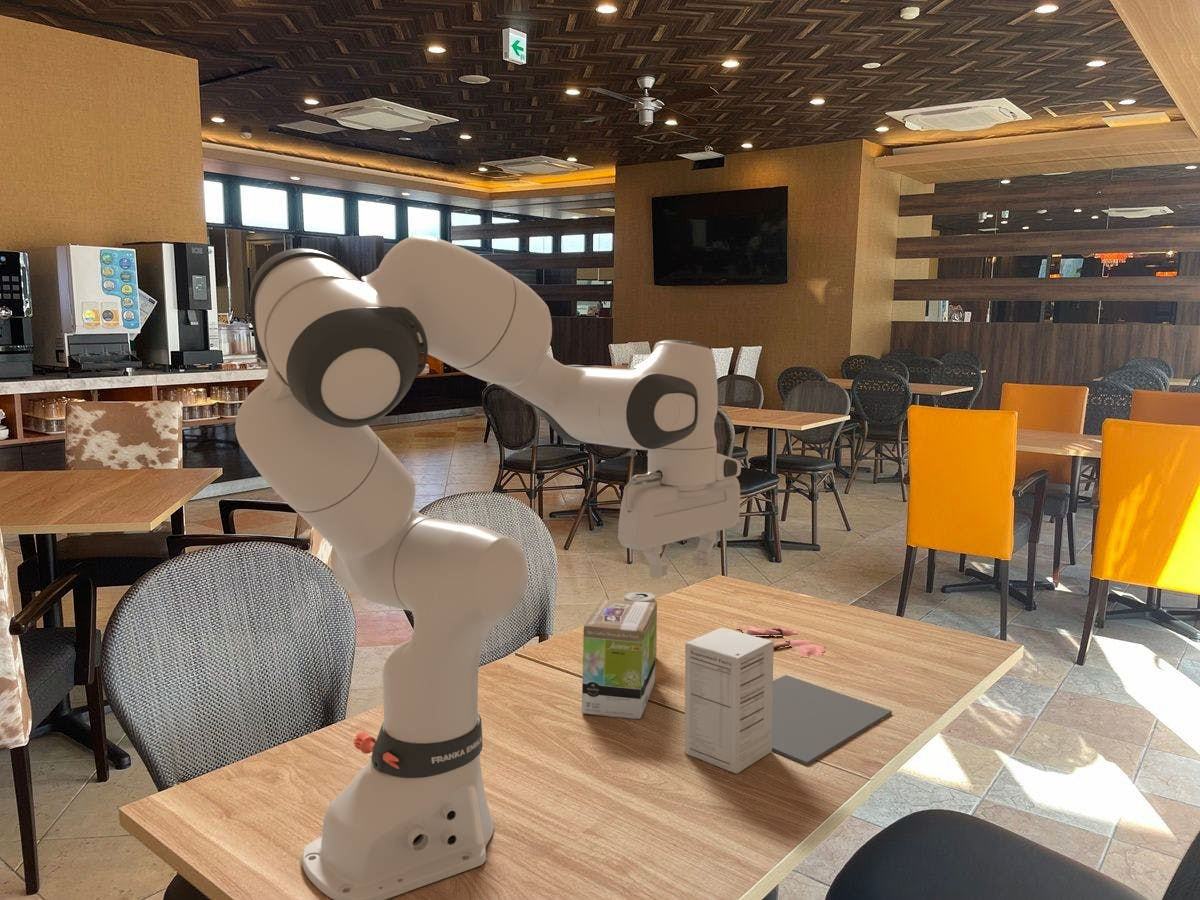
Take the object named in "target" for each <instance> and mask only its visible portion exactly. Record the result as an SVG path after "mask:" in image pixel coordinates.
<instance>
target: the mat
mask: <svg viewBox="0 0 1200 900" xmlns="http://www.w3.org/2000/svg"><path fill="white" fill-rule="evenodd" d="M892 714H893V711H892V710H891V709H888V708H886V707H882V706H879V705H876V704H873V703H870V702H867V701H864V700H861V699H858V698H856V697H852V696H849V695H847V694H844V693H840V692H837V691H834V690H831V689H829V688H825V687H822V686H820V685H817V684H813V683H811V682H808V681H805V680H802V679H800V678H796V677H794V676H791V675H787V674H785V675H783V676H781V677H779V678H776V679H773V707H772V752H773V753H776V754H777V755H780V756H783V757H786V758H787V759H790V760H792V761H794V762H795V761H796V762H798V763H799V764H802V765H804V766H809V765H810V764H812V763H813V762H815V761H816V760H819V759H820V758H821V757H823V756H825V755H826V754H828V753H830V752H831V751H833V750H835V749H837V748H838V747H840V746H842V745H843V744H845V743H846V742H847V741H848V742H849V740H851V739H853V738H854V737H856V736H858V735H859V734H861V733H863V732H865V731H866V730H868V729H869V728H872V726H874V725H876V724H878V723H879V722H881V721H882V720H884V719H886V718H887V717H889V716H891V715H892Z"/></svg>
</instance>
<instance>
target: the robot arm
mask: <svg viewBox="0 0 1200 900" xmlns="http://www.w3.org/2000/svg"><path fill="white" fill-rule="evenodd" d="M360 279H361V280H360ZM360 279H358V278H357V277H356V276H355V273H353V272H352V271H351V269H350V268H349V267H348V266H347V265H346V264H344V262H342V261H340V260H339V259H337V258H336V257H334V256H332V255H330V254H327V253H325V252H323V251H319V250H317V249H311V248H292V249H286V250H283V251H280V252H278V253H276V254H275V255H272V256H271V257H270V258H268V259H266V261H265V262H263V264H261V266H260V267H259V269H258V270H257V271H256V273H255V275H254V277H253V280H252V282H251V283H252V284H251V287H250V290H249V291H250V292H249V313H250V321H251V327H252V331H253V337H254V345H255V350H256V355H257V357H258V358H259V359H260V360H261V361H263V362H264V363H265V364H267V375H266V377H265V379H264V381H263V382H261V383H260V384H259V385H258V386H257V387H256V388H255V389H253V390H252V391H251V392H250V393H249V394H248V396H246V398H245V399H244V400H243V401H242V403H241V405H240V407H239V409H238V412H237V414H236V417H235V418H236V419H235V423H234V424H235V425H234V428H235V435H236V440H237V441H238V442H237V443H238V444H239V446H240V447H241V449H242V450H243V452H244V454H245V455H246V457H247V458H248V460H249V461H250V462H251V464H252V465H253V466H254V469H256V470H257V472H258V474H260V476H261V477H262V478H263V479H264V480H265V481H266V483H267V484H268V485H269V487H270V488H272V490H273V491H275V493H276V494H277V495H278V496H279V497H280V498H281V499H282V500H283V501H284V502H285V503H286V504H287V505H288V506H289V507H290V508H291V509H293V510H294V511H295V512H296V513H297V514H298V515H299V516H300V517H301V518H302V519H303V520H305V521H306V522H307V523H308V524H309V525H310V526H311V527H312V528H313V529H314V530H315V531H316V532H317V533H318V534H319V535H320V536H321V537H322V538H324V539H325V540H326V541H327V542H328V544H329V545H330V546H331V554H330V563H331V570H332V573H333V576H334V578H335V579H336V582H337V583H338V584H339V585H340V586H341V587H343V588H344V589H346V590H347V591H349V592H351V593H353V594H355V596H358V597H360V598H362V599H365V600H366V601H368V602H371V603H373V604H377V605H382V606H386V607H391V608H396V609H400V610H405V611H409V612H412V616H413V623H414V624H413V632H412V636H411V639H409V640H406V641H405V642H403V643H402V644H400V645H398V646H397V647H396V648H395V649H394V650H393V651H392V652H391V653H390V654H389V656H388V657H387V659H386V660H385V661H384V664H383V667H382V673H381V674H382V697H383V698H382V699H383V702H382V703H383V723H382V724H381V726H380V730H379V732H378V736H377V737H376V738H374V736H370V735H369V733H367V732H365V731H362V732H359V733H357V734H356V736H355V738H354V739H353V741H354V742H353V747H355V749H357V750H359V751H360V752H361V753H362V754H365V755H366V754H367V755H368V754H370V753H372V754H371V759H370V760H369V761H368V762H367V764H366V765H365V766H364V767H363V768H362V769H361V770H359V772H358V773H357V774H356V775H355V777H354V778H353V779H351V780H350V781H349V783H348V784H347V785H346V786H345V787H344V788H343V789H342V790H341V791H340V792H339V794H337V795H336V796H335V797H334V798H333V799H332V801H330V802H329V804H328V806H327V808H326V811H325V814H324V818H323V823H322V830H321V831H322V832H321V836H320V837H318V838H316V839H314V840H313V841H311V842H309V843H308V844H306V845H305V846H304V847H303V850H302V857H301V858H302V859H301V861H302V862H301V863H302V869H303V872H304V873H305V876H306V877H307V878H308V879H309V880H310V882H311V883H312V884H313V885H314V886H315V887H316V888H317V889H318V890H320V892H321V893H323V894H324V895H326V896H327V897H329V898H330V899H332V900H387V899H391V898H393V897H396V896H399V895H402V894H404V893H407V892H410V891H413V890H417V889H419V888H421V887H424V886H426V885H429V884H430V885H431V884H433V883H435V882H439V881H441V880H444V879H446V878H449V877H453V876H455V875H458V874H460V873H463V872H466V871H469V870H472V869H474V868H477V867H480V866H482V865H484V863H485V862H486V860H487V850H486V847H487V845H488V843H489V841H490V840H491V838H492V836H493V833H494V828H495V826H494V825H495V824H494V820H493V817H492V815H491V812H490V809H489V805H488V801H487V795H486V791H485V786H484V781H483V773H482V766H481V765H482V764H481V752H482V750H483V745H484V744H483V725H482V717H481V715H480V714H479V706H478V705H479V666H480V661H481V655H482V651H483V648H484V645H485V642H486V640H487V639H488V636H489V635H490V633H491V632H492V630H493V629H494V628H495V626H497V624H498V623H500V622H501V621H504V619H506V618H507V617H509V616H510V615H511V613H513V612H514V611H515V610H516V608H517V607H518V605H519V604H520V602H521V601H522V598H524V594H525V592H526V588H527V584H528V579H529V578H528V576H529V575H528V574H529V572H528V570H529V569H528V563H527V558H526V555H525V553H524V551H523V549H522V547H521V545H520V544H519V543H518V542H517V541H516V540H515V539H514V538H511V537H510V536H507V535H504V534H503V533H501V532H497V531H495V530H493V529H490V528H488V527H485V526H482V525H480V524H473V523H467V522H466V523H465V522H459V521H453V520H446V519H440V518H435V517H431V516H427V515H426V514H423V513H421V512H419V511H417V510H415V509H414V506H415V501H416V500H415V498H416V484H415V480H414V478H413V476H412V474H411V473H410V471H409V470H408V469H407V468H406V467H405V465H404V464H403V463H402V462H401V461H400V460H399V459H398V457H396V455H395V454H394V453H393V452H392V450H390V448H389V447H388V446H387V445H386V444H385V443H384V442H383V440H381V439H380V437H379V436H378V435H377V434H376V433H375V431H374V430H373V429H372V428H371V427H370V426H369V425H370V424H372V423H375V422H376V421H379V420H380V419H382V418H384V417H385V416H386V415H388V414H390V412H391V411H392V410H393V409H395V408H396V407H397V406H398V405H399V403H400V402H401V401H403V399H404V397H406V395H407V393H408V392H409V391H410V389H411V387H412V385H413V382H414V381H415V379H416V378H417V377H418V376H420V374H421V373H423V372H424V370H425V368H426V365H427V363H428V362H427V361H428V355H429V356H431V357H433V358H435V359H437V360H439V361H441V362H443V363H445V364H447V365H448V366H450V367H452V368H454V369H456V370H458V371H460V372H462V373H465V374H467V375H469V376H472V377H474V378H476V379H479V380H480V381H484V382H485V383H486V382H487V383H491V384H494V385H497V386H498V387H500V388H501V389H503V390H505V391H506V392H508V393H510V394H511V395H513V396H515V397H517V398H518V399H520V400H521V401H523V402H525V403H526V404H528V405H530V406H532V407H533V408H534V409H535V410H537V411H538V412H539V413H540V414H541V415H542V417H543V418H544V419H545V420H546V422H547V423H548V425H549V426H550V427H551V429H552V430H553V431H554V432H555V434H556V435H558V437H560V438H561V439H563V440H564V441H566V442H569V443H571V444H572V443H573V444H588V445H589V444H591V445H592V444H594V445H602V446H608V447H609V446H610V447H615V448H625V449H632V450H641V451H647V472H646V473H643V474H641V473H640V474H635V475H632V476H631V478H630V480H628V481H627V483H626V485H624V488H623V495H622V499H621V504H620V509H619V517H618V519H619V520H618V529H617V531H618V532H617V538H618V539H617V540H618V541H619V543H620V544H621V546H622V547H623V548H627V549H631V550H633V551H634V550H635V551H642V553H643V555H644V557H645V559H646V561H647V562H648V564H649V577H650V578H651V579H654V580H655V579H656V580H660V579H663V578H666V577H667V576H668V572H667V571H668V564H667V563H663V561H662V558H661V555H660V554H662V553H663V546H664V545H667V544H672V543H676V542H680V541H683V540H684V541H685V540H687V539H692V538H695V537H698V538H700V539H699V542H698V545H697V549H696V550H694V551H693V552H692V557H693V559H692V563H693V565H694V566H699V567H704V566H708V565H710V563H711V552H712V550H713V548H714V547H715V546H714V545H715V543H716V541H717V538H718V537H717V536H718V535H717V533H718V532H720V531H724V530H727V529H731V528H734V527H735V526H736V524H737V522H738V520H739V518H740V513H741V512H740V511H741V485H740V484H741V483H740V482H739V481H740V480H739V479H738V478H737V477H739V476H740V475H741V472H742V471H741V470H742V463H741V461H740V460H739V459H735V458H733V457H731V456H726V455H724V454H721V453H717V451H718V450H717V449H718V448H717V447H718V441H717V438H716V434H715V433H716V432H715V421H716V417H717V414H718V401H719V400H718V397H719V396H718V389H719V388H718V375H717V368H716V367H717V366H716V361H715V357H714V353H713V351H712V349H710V348H709V347H708V346H707V345H704V344H703V343H699V342H693V341H684V340H679V339H664V340H660V341H657V342H656V343H655V344H654V346H653V350H652V352H651V353H650V355H649V356H648V357H647V358H645V359H644V360H642V361H641V362H640V363H639V364H636V365H634V366H632V367H631V368H616V367H615V368H612V367H597V366H596V367H595V366H592V365H581V364H567V365H566V364H562V363H561V362H559V361H558V360H556V359H555V358H554V357H552V356H551V355H549V354H548V352H549V349H550V345H551V341H552V335H553V325H552V324H553V323H552V317H551V312H550V309H549V306H548V305H547V302H545V301H544V300H543V299H542V298H541V297H540V296H539V294H537V293H536V291H534V290H533V289H532V288H531V287H530V286H529V285H527V284H526V283H525V282H524V281H522V280H520V279H519V278H518V277H516V276H514V274H511V273H510V272H508V271H507V270H505V269H504V268H502V267H501V266H498V265H497V264H496V263H494V262H492V261H490V260H488V259H487V258H485V257H483V256H481V255H479V254H478V253H475V252H472V251H471V250H469V249H467V248H464V247H461V246H459V245H457V244H454V243H452V242H449V241H447V240H444V239H441V238H438V237H437V236H431V235H428V234H418V235H417V234H416V235H413V236H409V237H406V238H403V240H400V241H399V242H397V243H396V244H395V245H394V246H392V247H391V248H390V250H388V252H387V253H386V254H385V256H384V257H383V258H382V260H381V262H380V264H379V266H378V268H375V270H374V271H372V272H371V273H369V274H367V275H363V276H361V277H360ZM422 354H423V356H422V360H421V355H422ZM420 361H421V362H420Z"/></svg>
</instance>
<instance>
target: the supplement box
mask: <svg viewBox="0 0 1200 900" xmlns="http://www.w3.org/2000/svg"><path fill="white" fill-rule="evenodd" d="M774 642H775V641H773V640H770V639H767V638H763V637H756V636H752V635H748V634H745V633H742V632H740V631H736V630H733V629H729V628H725V627H720V628H717V629H714V630H712V631H709V632H708V633H705V634H703V635H701V636H698V637H696V638H693V639H691V640H689V641H687V642H685V649H684V653H685V656H684V657H685V658H684V660H685V661H684V662H685V663H684V667H685V668H684V672H685V673H684V754H685V755H689V756H691V757H694V758H697V759H699V760H701V761H704V762H706V763H708V764H711V765H713V766H715V767H719V769H720V768H721V769H723V770H725V771H728V772H731V773H733V774H736V775H737V774H739V773H741V772H742V771H743V770H745V769H746V768H749V767H750V766H751V765H753V764H755V763H756V762H757V761H759V760H761V759H762V758H764V757H765V756H766V757H767V756H768V755H769V754H771V753H772V752H773V751H772V707H773V681H774Z"/></svg>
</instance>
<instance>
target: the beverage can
mask: <svg viewBox="0 0 1200 900" xmlns="http://www.w3.org/2000/svg"><path fill="white" fill-rule="evenodd" d="M623 601H637V602H650V603H656V604H657V605H658V602H657V600H656V595H655V594H654V593H652V592H649V591H630V592H627V593H625V594H624V596H623ZM657 625H658V620H657V621H656V655H657V650H658V649H657V648H658V647H657V640H658V639H657V637H658V636H657V635H658V632H657V631H658V629H657V628H658V627H657Z"/></svg>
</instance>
